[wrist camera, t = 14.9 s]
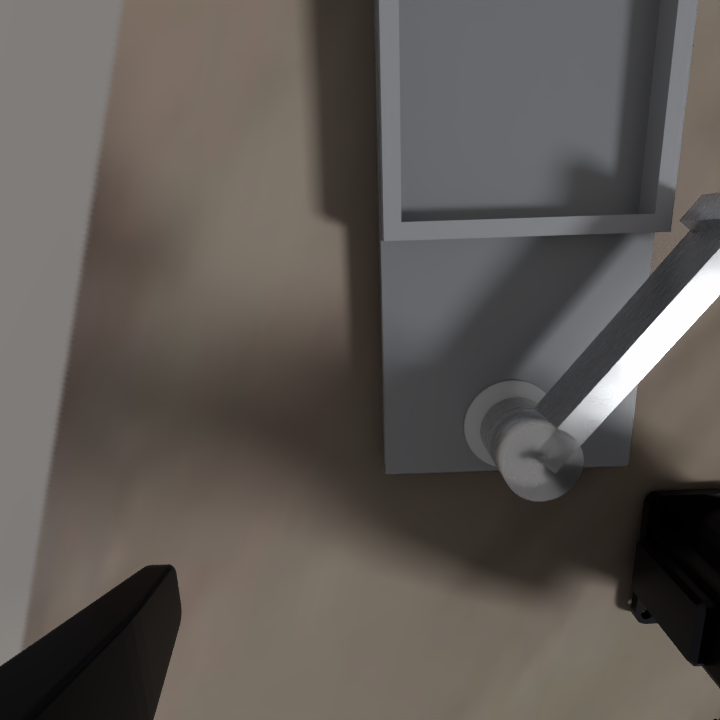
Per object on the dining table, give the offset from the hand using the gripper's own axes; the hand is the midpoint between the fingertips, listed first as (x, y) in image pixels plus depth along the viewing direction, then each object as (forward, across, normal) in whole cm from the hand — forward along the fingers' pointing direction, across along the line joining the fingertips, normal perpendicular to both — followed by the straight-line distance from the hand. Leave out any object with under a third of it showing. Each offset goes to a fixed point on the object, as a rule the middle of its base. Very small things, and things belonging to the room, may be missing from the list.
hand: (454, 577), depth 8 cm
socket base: (+12, -4, -8) cm, 16 cm away
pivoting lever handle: (+11, -7, -1) cm, 13 cm away
